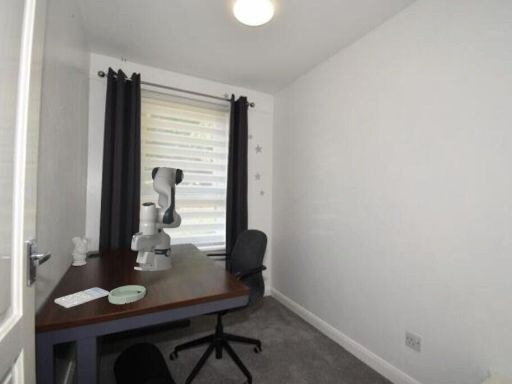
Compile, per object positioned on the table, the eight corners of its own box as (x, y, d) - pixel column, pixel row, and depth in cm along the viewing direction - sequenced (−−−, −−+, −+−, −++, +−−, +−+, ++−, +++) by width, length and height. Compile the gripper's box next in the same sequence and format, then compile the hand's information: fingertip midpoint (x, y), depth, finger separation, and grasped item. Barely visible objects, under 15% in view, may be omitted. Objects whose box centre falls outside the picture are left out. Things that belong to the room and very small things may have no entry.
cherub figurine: (68, 264, 183) (69, 234, 184) (85, 260, 195) (86, 232, 195) (79, 267, 179) (80, 236, 179) (96, 262, 190) (97, 233, 190)
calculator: (53, 302, 123) (53, 298, 123) (96, 289, 140) (96, 286, 140) (67, 309, 116) (67, 305, 116) (110, 294, 134) (110, 291, 134)
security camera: (151, 270, 142) (155, 252, 145) (142, 270, 136) (146, 251, 139) (142, 269, 145) (146, 251, 147) (133, 269, 138) (137, 250, 141)
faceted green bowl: (100, 300, 125) (101, 294, 125) (128, 289, 140) (128, 283, 140) (126, 306, 119) (126, 300, 119) (151, 294, 135) (152, 288, 135)
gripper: (137, 234, 133) (137, 260, 133) (164, 229, 152) (163, 251, 152) (128, 233, 135) (128, 258, 135) (156, 228, 154) (155, 250, 154)
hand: (147, 255), depth 143 cm, fingers closed on security camera, 6 cm apart
